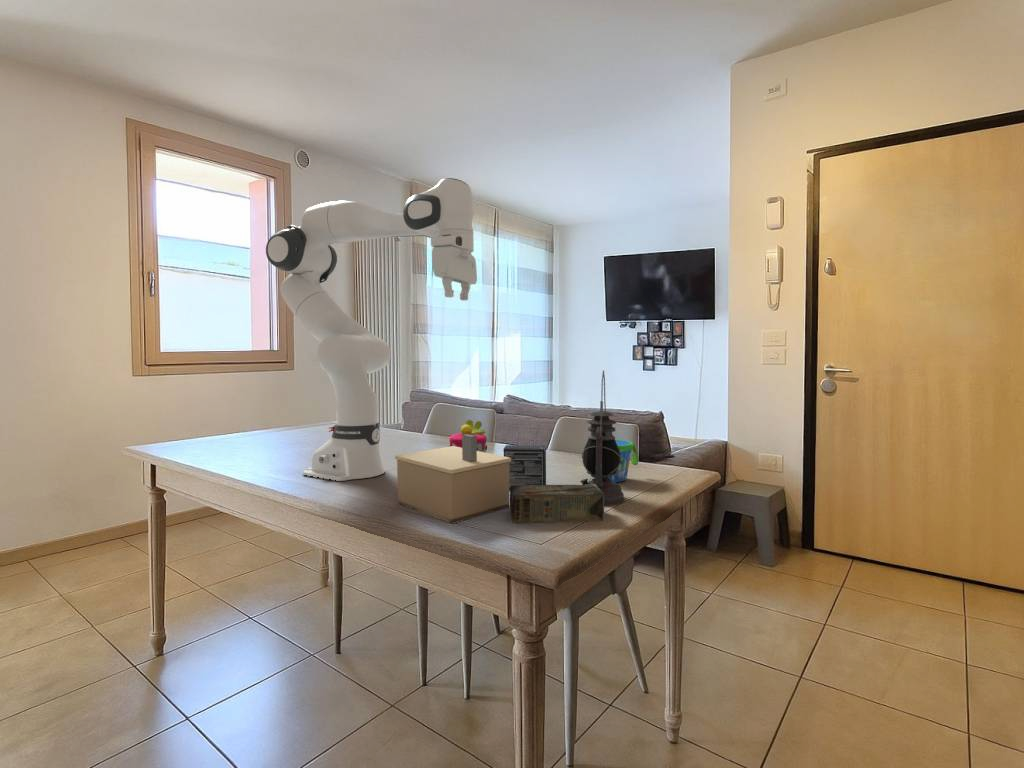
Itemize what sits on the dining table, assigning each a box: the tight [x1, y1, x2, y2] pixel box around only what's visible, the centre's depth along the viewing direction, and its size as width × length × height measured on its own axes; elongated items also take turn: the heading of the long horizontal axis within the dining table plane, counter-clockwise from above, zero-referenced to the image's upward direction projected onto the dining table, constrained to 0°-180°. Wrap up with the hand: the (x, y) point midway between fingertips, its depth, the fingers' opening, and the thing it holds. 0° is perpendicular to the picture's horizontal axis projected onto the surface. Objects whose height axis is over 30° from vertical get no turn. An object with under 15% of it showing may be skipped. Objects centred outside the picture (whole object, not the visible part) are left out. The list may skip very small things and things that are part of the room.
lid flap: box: [394, 434, 511, 474], centre depth 120 cm, size 21×17×6 cm
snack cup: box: [608, 439, 639, 483], centre depth 143 cm, size 16×10×10 cm
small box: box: [503, 444, 547, 491], centre depth 136 cm, size 11×6×10 cm, turn 84°
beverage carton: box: [509, 484, 605, 524], centre depth 113 cm, size 8×19×7 cm, turn 95°
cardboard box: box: [396, 459, 510, 524], centre depth 121 cm, size 20×16×10 cm
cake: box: [449, 419, 488, 453], centre depth 150 cm, size 10×11×15 cm
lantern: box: [579, 370, 625, 506], centre depth 125 cm, size 12×11×30 cm
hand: (456, 298), depth 139 cm, fingers open, 8 cm apart
